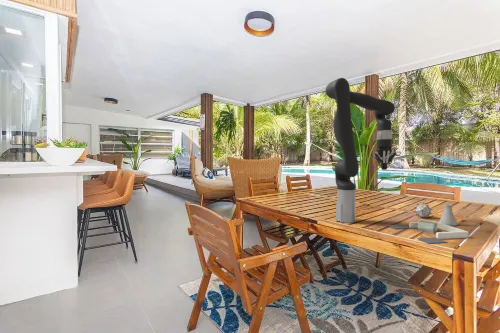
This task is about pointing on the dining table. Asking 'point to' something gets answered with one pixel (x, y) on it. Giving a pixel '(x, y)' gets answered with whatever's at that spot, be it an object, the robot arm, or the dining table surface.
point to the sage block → (427, 226)
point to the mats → (427, 240)
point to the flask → (448, 216)
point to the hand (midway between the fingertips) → (384, 169)
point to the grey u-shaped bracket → (451, 230)
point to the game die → (423, 210)
